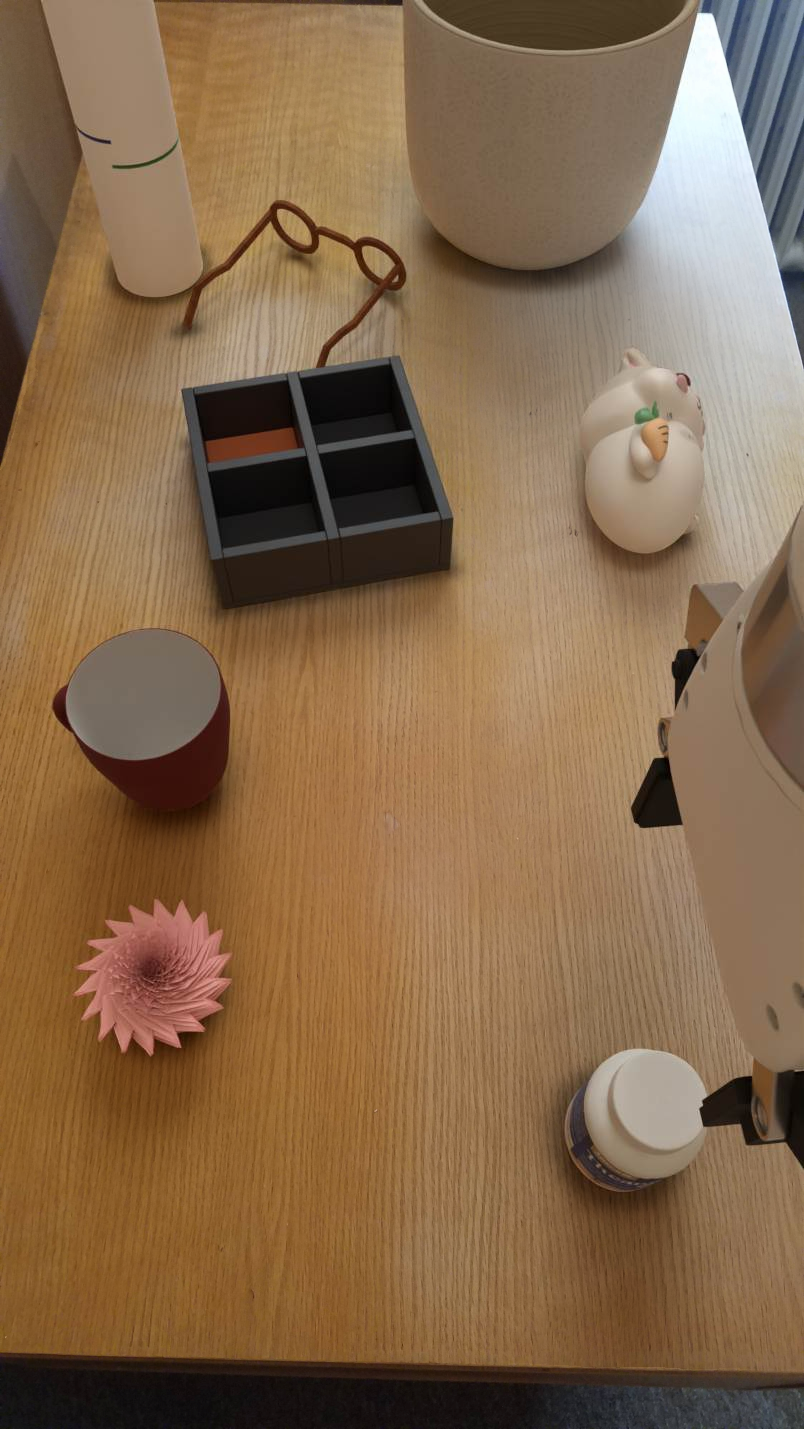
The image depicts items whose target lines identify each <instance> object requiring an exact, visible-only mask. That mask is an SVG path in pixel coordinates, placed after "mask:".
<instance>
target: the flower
mask: <svg viewBox="0 0 804 1429" xmlns="http://www.w3.org/2000/svg"><path fill="white" fill-rule="evenodd" d="M128 905H129V906H127V907H128V911H129V913H130V915H131V920H132V922H127V921H117V920H112V919H104V921H105V924H106V926H108V928H109V929H110V930H111V931H113V933H114V934H115V935H116V936H115V937H108V938H98V939H89V940H87V942H86V943H85V944H86V945H89V946H90V947H93V948H94V949H96V950H98V951H101V952H100V953H99V954H98V955H96V956H95V957H93V958H91V959H90V960H87V961H85V962H84V963H81V964H79V965H76V966H75V968H74V969H75V970H77V971H88V972H91V973H92V972H93V973H92V974H91V975H89V977H88V978H87V979H86V981H85V982H84V983H83V984H82V985H81V986H80V987H79V988H78V989H77V990H76V991H75V992H74V993H73V997H76V998H77V997H81V996H84V995H85V996H86V995H88V994H93V993H95V994H94V996H93V998H92V1000H91V1001H90V1003H89V1004H88V1007H87V1008H86V1010H85V1012H84V1014H83V1015H82V1017H81V1019H80V1022H86V1021H87V1020H89V1019H91V1018H93V1017H94V1016H95V1015H97V1014H98V1013H100V1030H99V1034H98V1038H97V1040H98V1043H101V1042H102V1041H103V1040H104V1039H105V1037H106V1036H107V1035H108V1034H109V1033H110V1032H111V1030H114V1033H115V1036H116V1038H117V1041H118V1044H119V1046H120V1050H121V1054H124V1055H125V1054H126V1052H127V1051H128V1048H129V1045H130V1042H131V1040H132V1039H133V1040H134V1041H135V1042H136V1043H137V1044H138V1045H139V1046H140V1047H141V1048H143V1049H144V1050H145V1051H146V1052H147V1053H148V1055H149V1056H150V1057H152V1055H154V1049H155V1040H157V1041H158V1042H159V1041H160V1042H162V1043H163V1044H164V1043H165V1044H167V1045H169V1046H171V1047H174V1048H177V1049H180V1048H181V1049H182V1045H181V1041H180V1039H179V1035H178V1034H180V1033H189V1032H194V1033H196V1032H197V1033H198V1032H199V1033H206V1032H205V1030H206V1028H205V1027H204V1026H203V1024H201V1023H200V1021H201V1020H203V1019H205V1017H208V1016H210V1015H212V1014H214V1013H216V1012H219V1011H221V1010H222V1009H224V1005H223V1004H220V1003H219V1002H217V1001H216V999H218V997H219V996H220V995H221V994H222V993H223V992H225V990H226V989H227V988H228V987H229V986H230V985H231V984H232V983H233V980H234V978H227V977H220V976H221V974H222V972H223V971H224V969H225V968H226V966H227V965H228V963H229V961H230V959H231V958H232V956H233V955H234V953H233V952H232V951H229V952H226V953H222V954H220V949H221V943H222V938H223V934H224V929H223V928H220V929H219V930H217V931H215V932H213V933H212V934H210V929H209V928H210V927H209V922H208V915H207V914H208V913H207V912H206V911H205V910H203V911H202V912H201V914H200V915H199V916H198V917H197V918H196V919H195V921H193V920H192V918H191V916H190V914H189V911H188V909H187V908H186V906H185V903H184V900H183V899H181V900H180V901H179V903H178V906H177V908H176V911H175V913H174V915H173V914H171V912H170V911H168V909H167V908H166V907H165V905H164V904H163V903H162V902H161V901H160V900H159V899H158V898H157V899H156V898H153V915H152V914H149V913H147V912H146V911H142V910H140V909H138V908H137V907H135V906H133V905H132V904H128Z"/></svg>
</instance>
